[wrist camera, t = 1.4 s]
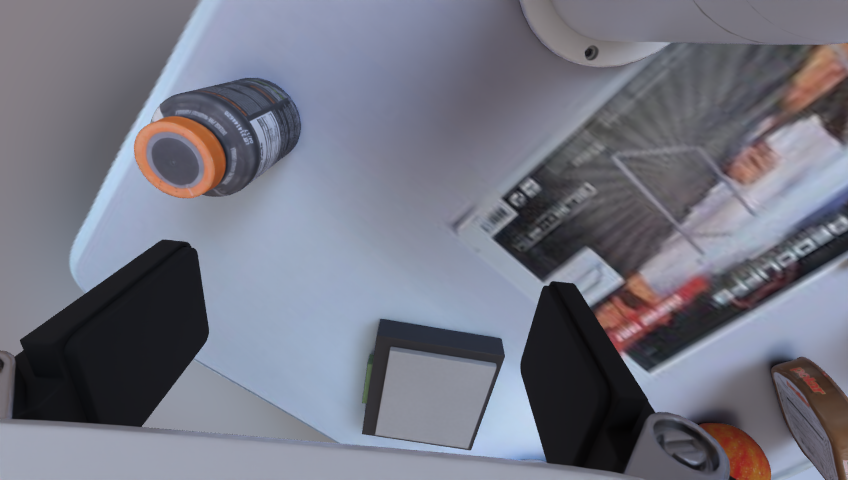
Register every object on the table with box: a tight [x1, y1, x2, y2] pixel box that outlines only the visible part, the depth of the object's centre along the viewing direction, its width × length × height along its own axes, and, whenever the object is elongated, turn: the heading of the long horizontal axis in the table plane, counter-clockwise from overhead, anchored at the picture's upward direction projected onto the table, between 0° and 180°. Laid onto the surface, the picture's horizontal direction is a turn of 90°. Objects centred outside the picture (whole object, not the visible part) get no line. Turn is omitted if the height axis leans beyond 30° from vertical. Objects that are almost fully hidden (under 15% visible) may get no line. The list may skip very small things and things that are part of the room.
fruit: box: [698, 423, 771, 480], centre depth 40 cm, size 7×7×8 cm
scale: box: [362, 319, 505, 450], centre depth 40 cm, size 14×12×3 cm
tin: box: [771, 357, 848, 480], centre depth 36 cm, size 15×3×8 cm, turn 31°
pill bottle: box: [134, 78, 301, 198], centre depth 24 cm, size 6×6×11 cm
